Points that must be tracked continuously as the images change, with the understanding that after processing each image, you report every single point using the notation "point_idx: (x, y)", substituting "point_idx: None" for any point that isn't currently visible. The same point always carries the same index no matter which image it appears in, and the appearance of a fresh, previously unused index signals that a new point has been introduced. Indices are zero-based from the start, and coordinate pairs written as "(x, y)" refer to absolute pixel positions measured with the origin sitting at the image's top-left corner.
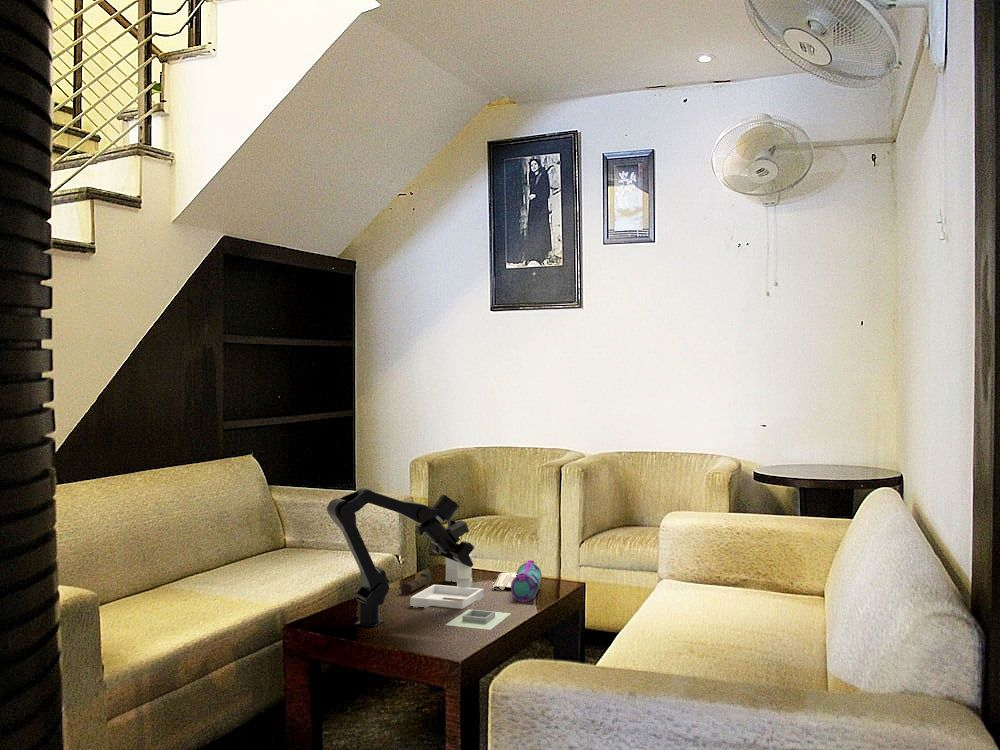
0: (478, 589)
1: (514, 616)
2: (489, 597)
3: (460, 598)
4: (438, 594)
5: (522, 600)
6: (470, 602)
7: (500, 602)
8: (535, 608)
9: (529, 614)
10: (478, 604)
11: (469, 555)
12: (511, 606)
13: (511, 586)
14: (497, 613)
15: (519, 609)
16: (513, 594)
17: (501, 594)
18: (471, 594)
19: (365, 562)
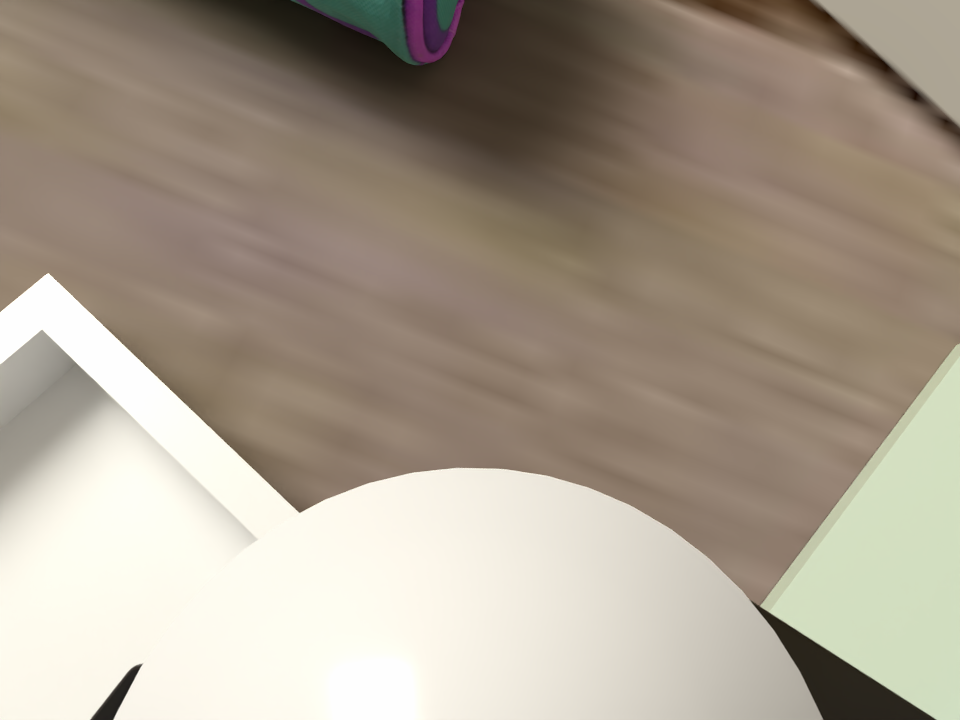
0: (30, 343)
1: (947, 312)
2: (100, 249)
3: (31, 634)
4: None
5: (454, 21)
6: None
7: (368, 225)
8: (720, 26)
9: (910, 157)
10: (341, 484)
11: (809, 704)
12: (570, 189)
13: (416, 6)
14: (948, 473)
15: (708, 166)
16: (424, 54)
17: (48, 86)
18: None
19: None
